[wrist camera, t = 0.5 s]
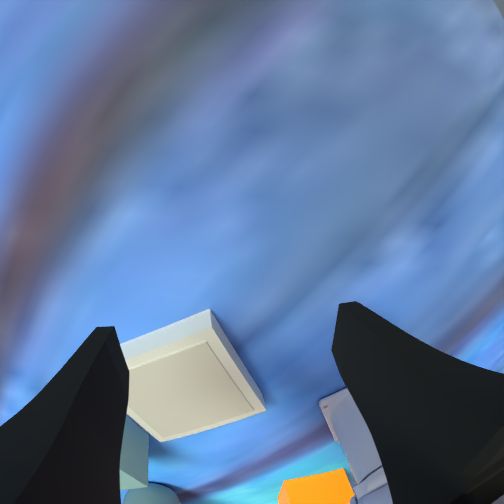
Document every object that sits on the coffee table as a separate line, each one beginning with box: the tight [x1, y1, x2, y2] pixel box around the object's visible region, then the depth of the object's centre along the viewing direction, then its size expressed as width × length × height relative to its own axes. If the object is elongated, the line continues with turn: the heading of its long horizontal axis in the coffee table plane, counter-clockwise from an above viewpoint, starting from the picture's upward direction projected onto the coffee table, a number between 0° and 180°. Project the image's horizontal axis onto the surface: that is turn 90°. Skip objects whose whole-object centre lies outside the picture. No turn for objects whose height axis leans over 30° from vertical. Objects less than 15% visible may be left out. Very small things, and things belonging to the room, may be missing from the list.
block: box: [120, 415, 149, 490], centre depth 23 cm, size 4×4×6 cm
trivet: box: [120, 309, 266, 442], centre depth 23 cm, size 10×10×3 cm
